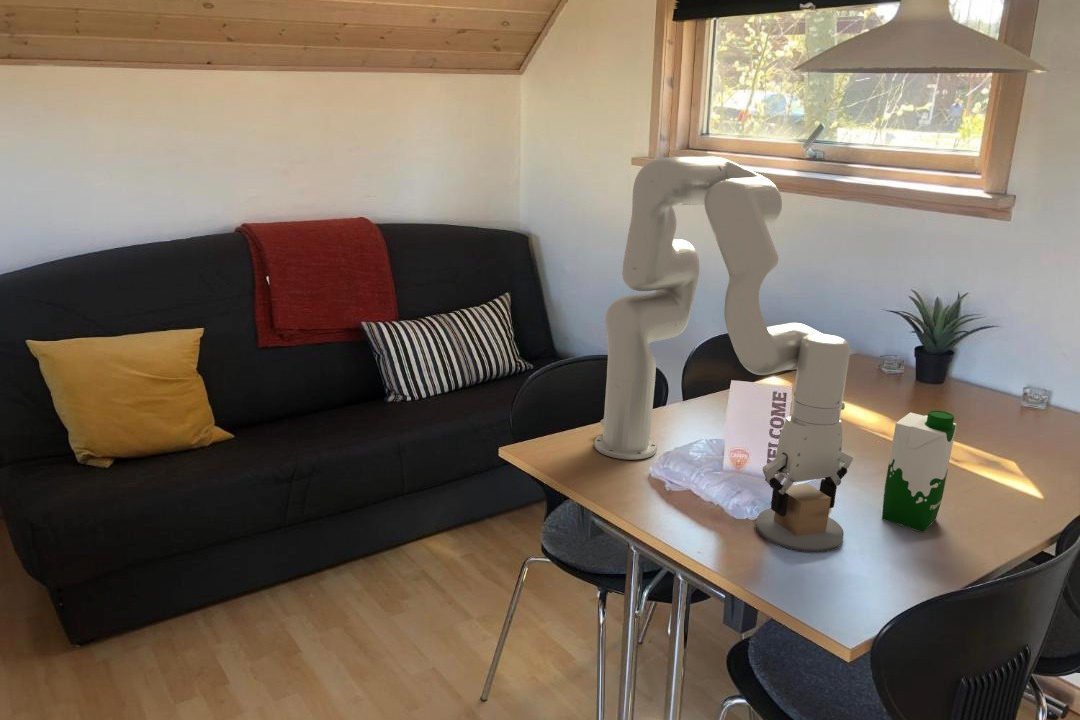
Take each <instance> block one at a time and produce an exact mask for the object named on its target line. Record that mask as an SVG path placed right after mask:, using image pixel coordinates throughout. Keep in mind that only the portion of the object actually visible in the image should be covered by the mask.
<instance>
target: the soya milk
mask: <svg viewBox="0 0 1080 720" xmlns="http://www.w3.org/2000/svg"><path fill="white" fill-rule="evenodd" d="M954 421H955V416H954V414H952V413H950V412H947V411H943V410H929V411H928V413H927V415H922V414H918V413H914V412H909V413H908V414H906V415H904V416H903V417H902V418H900V419H899V420H898V421H897V422H896V423H895V427H894V432H893V438H892V443H891V447H890V454H889V461H888V465H887V466H888V467H887V470H886V476H885V484H884V491H883V501H882V515H881V519H882V520H884V521H887V522H890V523H894V524H896V525H898V526H899V525H900V526H902V527H906V528H908V529H909V528H910V529H912V530H915V531H918V532H921V533H925V531H926V530H928V528H929V527H930V526H931V525H932V523H934V521H935V520H937V517H938V513H939V510H940V506H941V503H942V500H943V495H944V491H945V486H946V480H947V476H948V469H949V464H950V460H951V454H952V448H953V445H954V440H955V439H954V438H955V434H956V430H957V426H958V425H957V423H956V422H954Z"/></svg>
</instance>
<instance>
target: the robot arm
mask: <svg viewBox="0 0 1080 720" xmlns="http://www.w3.org/2000/svg"><path fill="white" fill-rule="evenodd" d="M631 201H632V205H631V207H632V208H631V209H632V210H631V217H630V223H629V228H628V234H627V239H626V245H625V251H624V257H623V263H622V272H621V273H622V280H623V282H624V284H625V285H626V287H627V288H629V289H631V290H633V291H638V292H646V293H640V294H633V295H625V296H623V297H621V298H618V299H616V300H615V301H613V302H612V303H611V304H610V305H609V307H608V308H607V311H606V314H605V321H604V322H605V331H606V339H607V367H606V385H605V398H604V413H603V414H604V415H603V419H601V420H600V425H601V426H602V429H603V430H602V433H601V434H600V435H597V437H595V439H594V444H593V445H594V448H595V450H596V451H597V452H599V453H601V454H602V455H604V456H606V457H611V458H613V459H619V460H632V461H634V460H635V461H636V460H637V461H638V460H643V459H648V458H651V457H652V456H654V455H655V454H656V453H657V451H658V449H657V448H658V444H657V442H656V441H655V440H654V439H652V438H651V430H652V417H653V406H654V397H655V386H656V383H655V382H656V374H657V373H656V372H657V371H656V369H657V365H656V358H655V357H654V354H653V352H652V350H651V347H650V343H653V342H657V341H663V340H669V339H672V338H675V337H678V336H680V334H682V333H683V332H684V331H685V329H686V327H687V326H688V324H689V321H690V317H691V313H692V308H693V304H694V300H695V295H696V289H697V285H698V280H699V275H700V260H699V256H698V251H696V249H695V247H694V245H692V243H690V242H689V241H688V240H685V239H684V238H683V239H682V238H675V234H676V232H677V231H676V230H677V216H676V211H675V208H674V206H697V205H701V206H702V205H704V209H705V213H706V216H707V219H708V222H709V224H710V226H711V230H712V232H713V235H714V237H715V241H716V242H717V247H718V249H719V251H720V253H721V257H722V260H723V262H724V264H725V268H726V270H727V273H728V278H729V280H728V284H727V288H726V292H725V298H724V311H723V313H724V321H725V322H724V323H725V328H726V331H727V334H728V336H729V338H730V341H731V345H732V347H733V350H734V352H735V354H736V356H737V358H738V360H739V362H740V364H742V366H743V367H744V368H745V369H746V370H747V371H749V372H750V373H752V374H754V375H759V376H765V375H770V374H775V373H779V372H784V371H789V370H791V371H793V370H796V376H795V382H794V389H793V397H792V405H791V414H790V416H787V417H786V418H785V421H784V423H783V425H782V429H781V430H780V435H779V439H778V442H777V448H776V453H775V458H774V459H773V460H772V461H770V462H768V463H767V464H765V465H764V466H762V473H763V474H764V477H765V482H766V483H768V485H769V487H770V488H771V489H772V493H771V495H772V496H771V502H770V508H771V509H772V510H773V511H775V512H776V513H777V514H779V515H780V516H785V515H786V511H787V504H788V497H789V495H788V494H787V493H786V491H787V490H788V489H789V488H790V486H791V485H794V483H801V482H806V481H812V480H820V479H821V481H820V485H819V489H818V490H819V491H821V492H822V493H824V494H826V495H827V496H829V497H830V498H831V501H830V508H829V509H833V508H834V506H835V502H836V493H837V488H838V486H840V485H841V483H842V479H843V478H844V477H845V475H847V473H848V469H849V468H850V466H851V464H852V462H853V460H854V457H852V456H851V455H849V454H847V453H845V452H843V423H842V420H841V414H842V411H843V410H845V408H846V406H845V403H844V402H843V401H844V395H845V394H844V393H845V388H846V381H847V373H848V368H849V360H850V355H851V354H850V353H851V346H850V344H849V342H848V341H847V340H846V339H845V338H843V337H840V336H838V335H832V334H826V333H822V332H820V331H819V330H816V329H815V328H813V327H811V326H808V325H806V324H804V323H799V322H787V323H782V324H775V325H769V326H767V324H766V322H765V320H764V316H763V314H762V311H761V306H760V291H761V286H762V283H763V282H764V280H765V279H766V277H767V275H768V274H769V273H771V272H772V271H773V270H775V268H776V267H777V265H778V263H779V260H780V259H779V254H778V252H777V249H776V247H775V244H774V242H773V240H772V237H771V234H770V232H769V229H768V225H771V224H773V223H774V222H776V220H777V219H778V218H779V216H780V214H781V211H782V207H783V206H782V205H783V201H782V195H781V193H780V190H779V189H778V187H777V186H776V184H775V183H774V182H772V181H771V180H770V179H769V178H767V177H765V176H763V175H761V174H759V173H756V172H755V171H752V170H751V169H749V168H745V166H741V165H739V164H738V163H736V162H733V161H731V160H729V159H727V158H723V157H719V156H718V157H717V156H669V157H667V156H666V157H661V158H658V159H657V158H656V159H653V160H652V161H649V162H648V163H646V164H644V166H643V167H641V168H640V170H639V171H638V173H637V175H636V177H635V179H634V183H633V189H632V200H631ZM650 291H651V292H650ZM652 291H655V292H652ZM647 292H648V293H647ZM776 473H777V474H776ZM783 480H784V481H783ZM782 481H783V483H782Z"/></svg>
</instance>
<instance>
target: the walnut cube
mask: <svg viewBox="0 0 1080 720" xmlns="http://www.w3.org/2000/svg"><path fill="white" fill-rule="evenodd" d="M819 490H820V489H818V488H816V487H814V486H813V485H811V484H809V482H806V483H805V482H804V483H799V484H792V485H791V486H790V488H789V489H788V490H787V491H786V493H787V494H788V495H789V497H788V504H787V511H786V515H785V516H780V515H779V514H777V513H776V512H775V514H774V521H776V522H777V523H778V524H780V525H781V526H783V527H784V528H785V529H787V530H788V531H790V532H791V533H793V534H794V535H795V536H801V535H807V534H812V533H818V532H823V531H826V528H827V521H828V517H829V513H830V509H831V508H830V501H831V498H830V497H829V496H827V495H826V494H824V493H822V492H821V491H819Z"/></svg>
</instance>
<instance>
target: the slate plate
mask: <svg viewBox="0 0 1080 720" xmlns="http://www.w3.org/2000/svg"><path fill="white" fill-rule="evenodd" d="M774 514H775V511H773V510H772V509H771V507H770V508H766V509H764V510H762V511H761V512H760V513H758V515H757V517H756V523H755V528H756V531H757V532H758V534H759V535H760V536H761V537H763V539H765V540H766V541H768V542H769V543H771V544H774V545H775V546H778V547H779V548H783V549H787V550H791V551H795V552H801V553H809V554H819V553H821V554H822V553H828V552H831V551H834V550H836V549H838V548H839V547H840V546H841V545H842V544H843V539H844V534H845V533H844V529H843V528H842V526H841V525H840V523H838V522H837V521H836V520H834V519H833V518H831V517H830V516H828V521H827V528H826V531H823V532H818V533H812V534H807V535H801V536H795V535H794V534H793V533H791V532H790V531H788V530H787V529H785V528H784V527H783V526H781V525H780V524H778V523H777V522H776V521H774Z"/></svg>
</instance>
